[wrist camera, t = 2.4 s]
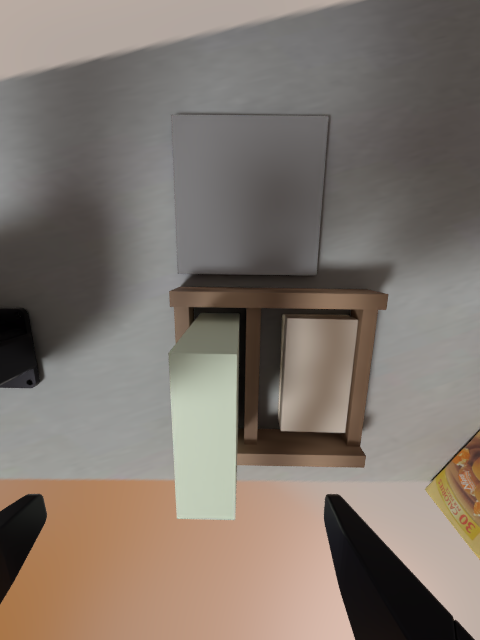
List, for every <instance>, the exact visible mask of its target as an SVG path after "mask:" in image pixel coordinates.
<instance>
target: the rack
mask: <svg viewBox="0 0 480 640" xmlns="http://www.w3.org/2000/svg"><path fill="white" fill-rule="evenodd" d="M169 296H170V307H174V316H175V339H176V343H177V342H178V341H179V339H180V338H181V337H182V336H183V334H184V333H185V332H186V331H187V329H188V328H189V327H190V326H191V324H192V323H193V322H194V307H226V308H246V347H245V403H244V428H238V444H237V465H260V466H312V467H363V468H364V466H365V459H366V455H365V454H364V452H363V451H362V449H361V447H360V443H361V435H362V428H363V420H364V412H365V405H366V397H367V390H368V382H369V375H370V367H371V360H372V352H373V344H374V337H375V329H376V322H377V314H378V310H386V308H387V301H388V294H385V293H380V292H376V291H372V290H368V289H312V288H239V287H178V288H176V289H174V290H171V291H169ZM261 308H296V309H351V315H350V317H353V318H355V319H357V320H358V326H357V335H356V344H355V352H354V361H353V369H352V378H351V386H350V395H349V404H348V412H347V421H346V429H345V433H330V432H297V431H281V430H280V429H257V427H258V395H259V363H260V330H261Z"/></svg>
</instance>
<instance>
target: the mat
mask: <svg viewBox="0 0 480 640" xmlns="http://www.w3.org/2000/svg"><path fill="white" fill-rule="evenodd" d="M171 117H172V142H173V167H174V192H175V217H176V243H177V268H178V274H242V275H317V262H318V249H319V236H320V222H321V209H322V196H323V183H324V170H325V157H326V144H327V131H328V118H329V116H288V115H171Z"/></svg>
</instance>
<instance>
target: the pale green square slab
mask: <svg viewBox="0 0 480 640" xmlns="http://www.w3.org/2000/svg"><path fill="white" fill-rule="evenodd" d="M239 323H240V313H200V314H199V316H198V317H197V318H196V319H195V321H194V322H193V323H192V324H191V326H190V327H189V328H188V329H187V331H186V332H185V333H184V334H183V336H182V337H181V338H180V339H179V341H178V342H177V343H176V344H175V346H174V347H173V348H172V349H171V351H170V352H169V353H168V354H169V374H170V393H171V413H172V432H173V452H174V471H175V490H176V509H177V519H217V520H235V508H236V477H237V444H238V403H239Z"/></svg>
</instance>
